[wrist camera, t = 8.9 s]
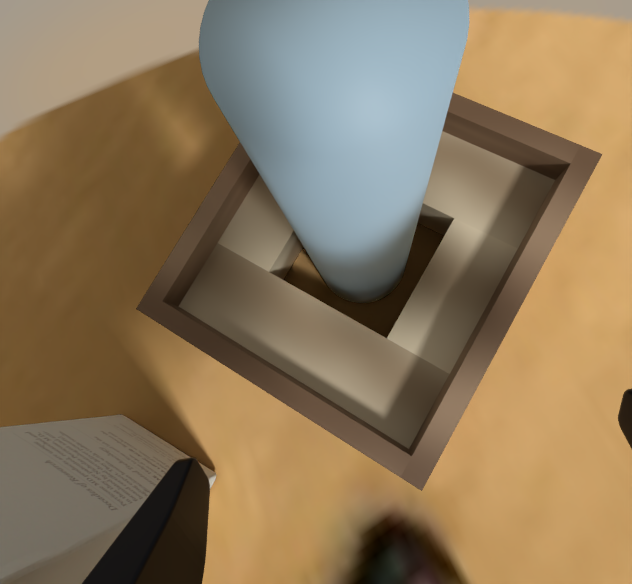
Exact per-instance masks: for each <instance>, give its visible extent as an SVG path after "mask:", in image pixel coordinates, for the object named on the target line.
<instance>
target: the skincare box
mask: <svg viewBox="0 0 632 584" xmlns="http://www.w3.org/2000/svg"><path fill="white" fill-rule="evenodd" d="M184 458H191V457H190V456H188V455H186V454H185V453H183V452H182V451H180V450H178V449H177V448H175V447H174V446H172V445H170V444H169V443H167V442H166V441H164V440H162V439H161V438H159V437H158V436H156V435H154V434H153V433H151V432H150V431H148V430H147V429H145V428H143V427H142V426H140V425H138V424H137V423H135V422H134V421H132V420H131V419H129V418H127V417H126V416H124V415H121V414H120V415H112V416H103V417H94V418H83V419H74V420H63V421H55V422H45V423H36V424H26V425H16V426H6V427H0V584H82V582H83V581H84V580H85V579H86V577H87V576H88V575H89V573H90V572H91V571H92V569H93V568H94V567H95V565H96V564H97V563H98V562H99V560H100V559H101V558H102V556H103V555H104V554H105V552H106V551H107V550H108V548H109V547H110V546H111V545H112V543H113V542H114V541H115V539H116V538H117V537H118V535H119V534H120V533H121V531H122V530H123V529H124V528H125V526H126V525H127V524H128V522H129V521H130V520H131V518H132V517H133V516H134V514H135V513H136V512H137V511H138V509H139V508H140V507H141V505H142V504H143V503H144V501H145V500H146V499H147V497H148V496H149V495H150V494H151V492H152V491H153V490H154V488H155V487H156V486H157V484H158V483H159V482H160V480H161V479H162V478H163V477H164V475H165V474H166V473H167V471H168V470H169V469H170V467H171V466H172V465H173V464H174V462H176V461H177V460H179V459H184ZM199 464H200V465H201V467H202V469H203V470H204V472H205V474H206V475H207V477H208V479H209V483H210V488H211V486H212V485H213V483H214V481H215V479H216V473H215V472H214V471H212V470H210V469H209V468H207V467H206V466H204V465H202V464H201V463H199Z"/></svg>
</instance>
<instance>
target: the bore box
mask: <svg viewBox="0 0 632 584" xmlns="http://www.w3.org/2000/svg"><path fill="white" fill-rule="evenodd" d="M601 156H602V154H600V153H598V152H596V151H593V150H591V149H588V148H586V147H583V146H581V145H579V144H576V143H574V142H571V141H569V140H566V139H564V138H562V137H559V136H557V135H554V134H552V133H549V132H547V131H545V130H542V129H540V128H537V127H535V126H532V125H530V124H528V123H525V122H523V121H520V120H518V119H515V118H513V117H511V116H508V115H506V114H503V113H501V112H498V111H496V110H494V109H491V108H489V107H486V106H484V105H481V104H479V103H477V102H474V101H472V100H469V99H467V98H464V97H462V96H459V95H457V94H455V93H452V97H451V100H450V104H449V108H448V111H447V115H446V119H445V123H444V126H443V130H442V134H441V137H440V141H439V145H438V148H437V152H436V156H435V160H434V163H433V167H432V171H431V174H430V178H429V182H428V185H427V189H426V193H425V197H424V200H423V204H422V208H421V211H420V215H419V219H418V222H417V223H419V224H421V225H423V226H425V227H427V228H429V229H431V230H433V231H435V232H437V233H440V234H442V235H444V238H443V239H442V241H441V243H440V245H439V246H438V248H437V250H436V252H435V254H434V255H433V257H432V259H431V261H430V262H429V264H428V266H427V268H426V270H425V271H424V273H423V275H422V277H421V278H420V280H419V282H418V284H417V286H416V287H415V289H414V291H413V293H412V294H411V296H410V298H409V300H408V302H407V303H406V305H405V307H404V309H403V310H402V312H401V314H400V316H399V318H398V319H397V321H396V323H395V325H394V326H393V328H392V330H391V332H390V334H389V335H388V337H387V338H385V337H383V336H381V335H380V334H378V333H376V332H374V331H373V330H371V329H369V328H367V327H366V326H364V325H362V324H360V323H358V322H357V321H355V320H353V319H351V318H350V317H348V316H346V315H344V314H343V313H341V312H339V311H337V310H335V309H334V308H332V307H330V306H328V305H327V304H325V303H323V302H321V301H319V300H318V299H316V298H314V297H312V296H311V295H309V294H307V293H305V292H304V291H302V290H300V289H298V288H296V287H295V286H293V285H291V284H289V283H288V282H286V281H284V278H285V276H286V275H287V273H288V271H289V270H290V268H291V266H292V265H293V263H294V261H295V260H296V258H297V256H298V254H299V253H300V251H301V249H302V248H303V245H302V243H301V241H300V240H299V238H298V237H297V235H296V233H295V232H294V230H293V228H292V227H291V225H290V223H289V222H288V220H287V218H286V217H285V215H284V213H283V212H282V210H281V209H280V207H279V205H278V204H277V202H276V200H275V199H274V197H273V195H272V194H271V192H270V190H269V189H268V187H267V185H266V184H265V182H264V181H263V179H262V177H261V176H260V174H259V172H258V171H257V169H256V167H255V166H254V164H253V162H252V161H251V159H250V157H249V156H248V154H247V153H246V151H245V149H244V148H243V146H242V144H241V143H239V145H238V146H237V148H236V149H235V151H234V153H233V154H232V156H231V157H230V159H229V161H228V162H227V164H226V166H225V167H224V169H223V170H222V172H221V174H220V175H219V177H218V178H217V180H216V182H215V183H214V185H213V186H212V188H211V190H210V191H209V193H208V194H207V196H206V198H205V199H204V201H203V202H202V204H201V206H200V207H199V209H198V210H197V212H196V214H195V215H194V217H193V218H192V220H191V222H190V223H189V225H188V226H187V228H186V230H185V231H184V233H183V235H182V236H181V238H180V239H179V241H178V243H177V244H176V246H175V247H174V249H173V251H172V252H171V254H170V255H169V257H168V259H167V260H166V262H165V263H164V265H163V267H162V268H161V270H160V271H159V273H158V275H157V276H156V278H155V279H154V281H153V283H152V284H151V286H150V287H149V289H148V291H147V292H146V294H145V295H144V297H143V299H142V300H141V302H140V304H139V305H138V307H137V308H136V309H137V310H139V311H140V312H142V313H143V314H145V315H147V316H148V317H150V318H151V319H153V320H154V321H156V322H158V323H159V324H161V325H162V326H164V327H165V328H167V329H169V330H170V331H172V332H173V333H175V334H176V335H178V336H180V337H181V338H183V339H184V340H186V341H187V342H189V343H190V344H192V345H194V346H195V347H197V348H198V349H200V350H201V351H203V352H205V353H206V354H208V355H209V356H211V357H212V358H214V359H216V360H217V361H219V362H220V363H222V364H223V365H225V366H227V367H228V368H230V369H231V370H233V371H234V372H236V373H238V374H239V375H241V376H242V377H244V378H245V379H247V380H249V381H250V382H252V383H253V384H255V385H256V386H258V387H260V388H261V389H263V390H264V391H266V392H267V393H269V394H270V395H272V396H274V397H275V398H277V399H278V400H280V401H281V402H283V403H285V404H286V405H288V406H289V407H291V408H292V409H294V410H296V411H297V412H299V413H300V414H302V415H303V416H305V417H307V418H308V419H310V420H311V421H313V422H314V423H316V424H318V425H319V426H321V427H322V428H324V429H325V430H327V431H329V432H330V433H332V434H333V435H335V436H336V437H338V438H340V439H341V440H343V441H344V442H346V443H347V444H349V445H350V446H352V447H354V448H355V449H357V450H358V451H360V452H361V453H363V454H365V455H366V456H368V457H369V458H371V459H372V460H374V461H376V462H377V463H379V464H380V465H382V466H383V467H385V468H387V469H388V470H390V471H391V472H393V473H394V474H396V475H398V476H399V477H401V478H402V479H404V480H405V481H407V482H409V483H410V484H412V485H413V486H415V487H416V488H418V489H420V490H421V491H422V490H423V488H424V486H425V484H426V482H427V480H428V478H429V476H430V475H431V473H432V471H433V469H434V467H435V465H436V463H437V462H438V460H439V458H440V456H441V454H442V452H443V450H444V449H445V447H446V445H447V443H448V441H449V439H450V437H451V435H452V434H453V432H454V430H455V428H456V426H457V424H458V422H459V421H460V419H461V417H462V415H463V413H464V411H465V409H466V407H467V406H468V404H469V402H470V400H471V398H472V396H473V394H474V393H475V391H476V389H477V387H478V385H479V383H480V381H481V380H482V378H483V376H484V374H485V372H486V370H487V368H488V366H489V365H490V363H491V361H492V359H493V357H494V355H495V353H496V352H497V350H498V348H499V346H500V344H501V342H502V340H503V339H504V337H505V335H506V333H507V331H508V329H509V327H510V325H511V324H512V322H513V320H514V318H515V316H516V314H517V312H518V311H519V309H520V307H521V305H522V303H523V301H524V299H525V297H526V296H527V294H528V292H529V290H530V288H531V286H532V284H533V283H534V281H535V279H536V277H537V275H538V273H539V271H540V270H541V268H542V266H543V264H544V262H545V260H546V258H547V256H548V255H549V253H550V251H551V249H552V247H553V245H554V243H555V242H556V240H557V238H558V236H559V234H560V232H561V230H562V228H563V227H564V225H565V223H566V221H567V219H568V217H569V215H570V214H571V212H572V210H573V208H574V206H575V204H576V202H577V201H578V199H579V197H580V195H581V193H582V191H583V189H584V187H585V186H586V184H587V182H588V180H589V178H590V176H591V174H592V173H593V171H594V169H595V167H596V165H597V163H598V161H599V160H600V158H601Z"/></svg>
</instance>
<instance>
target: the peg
mask: <svg viewBox="0 0 632 584" xmlns="http://www.w3.org/2000/svg"><path fill="white" fill-rule="evenodd" d="M468 28H469V4H468V0H209V1H208V4H207V6H206V9H205V12H204V15H203V19H202V23H201V27H200V37H199V58H200V63H201V68H202V73H203V76H204V79H205V81H206V84H207V87H208V89H209V90H210V92H211V94H212V96H213V98H214V100H215V101H216V103H217V105H218V106H219V108H220V110H221V111H222V113H223V115H224V116H225V118H226V120H227V121H228V123H229V125H230V126H231V128H232V129H233V131H234V133H235V134H236V136H237V138H238V139H239V141H240V143H241V144H242V146H243V148H244V149H245V151H246V153H247V154H248V156H249V157H250V159H251V161H252V162H253V164H254V166H255V167H256V169H257V171H258V172H259V174H260V176H261V177H262V179H263V181H264V182H265V184H266V185H267V187H268V189H269V190H270V192H271V194H272V195H273V197H274V199H275V200H276V202H277V204H278V205H279V207H280V209H281V210H282V212H283V213H284V215H285V217H286V218H287V220H288V222H289V223H290V225H291V227H292V228H293V230H294V232H295V233H296V235H297V237H298V238H299V240H300V241H301V243H302V245H303V246H304V248H305V250H306V251H307V253H308V255H309V256H310V258H311V260H312V261H313V263H314V265H315V266H316V268H317V269H318V271H319V273H320V274H321V276H322V278H323V279H324V281H325V283H326V284H327V286H328V287H329V288H330V289H331V290H332V291H333V292H334V293H335V294H336V295H338V296H339V297H341V298H343V299H345V300H347V301H351V302H356V303H369V302H373V301H377V300H379V299H382V298H383V297H385V296H387V295H388V294H390V293H391V292H392V291H393V290H394V289H395V288H396V287H397V285H398V284H399V282H400V281H401V279H402V276H403V274H404V270H405V267H406V263H407V259H408V256H409V252H410V248H411V245H412V241H413V237H414V234H415V230H416V226H417V222H418V219H419V215H420V211H421V208H422V204H423V200H424V197H425V193H426V189H427V185H428V182H429V178H430V174H431V171H432V167H433V163H434V160H435V156H436V152H437V148H438V145H439V141H440V137H441V134H442V130H443V126H444V123H445V119H446V115H447V111H448V108H449V104H450V100H451V97H452V93H453V89H454V86H455V82H456V78H457V75H458V71H459V67H460V63H461V60H462V56H463V52H464V49H465V45H466V41H467V36H468Z"/></svg>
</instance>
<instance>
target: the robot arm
mask: <svg viewBox="0 0 632 584" xmlns="http://www.w3.org/2000/svg"><path fill="white" fill-rule="evenodd" d="M618 421H619V425H620V428H621V430H622V432H623V433H624V435H625V437H626V439H627V441H628V443H629V445H630V447H631V449H632V389H628V390H626V391H625V392H624V394H623V398H622V402H621V406H620V410H619V415H618ZM209 496H210V483H209V479H208V477H207V475H206V474H205V472H204V470H203V469H202V467H201V465H200V464H199V462H198V460H197V459H196V458H194V457H191V458H184V459H179V460H177V461H176V462H174V464H173V465H172V466H171V467H170V469H169V470H168V471H167V473H166V474H165V475H164V477H163V478H162V479H161V480H160V482H159V483H158V484H157V486H156V487H155V488H154V490H153V491H152V492H151V494H150V495H149V496H148V497H147V499H146V500H145V501H144V503H143V504H142V505H141V507H140V508H139V509H138V511H137V512H136V513H135V514H134V516H133V517H132V518H131V520H130V521H129V522H128V524H127V525H126V526H125V528H124V529H123V530H122V531H121V533H120V534H119V535H118V537H117V538H116V539H115V541H114V542H113V543H112V545H111V546H110V547H109V548H108V550H107V551H106V552H105V554H104V555H103V556H102V558H101V559H100V560H99V562H98V563H97V564H96V565H95V567H94V568H93V569H92V571H91V572H90V573H89V575H88V576H87V577H86V579H85V580H84V581H83V582H82V584H202V579H203V573H204V566H205V557H206V544H207V528H208V512H209Z"/></svg>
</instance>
